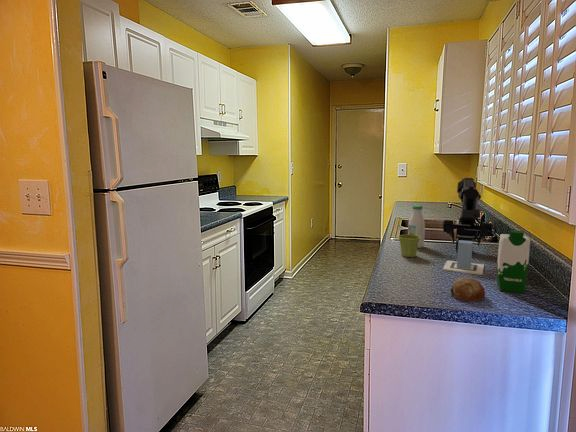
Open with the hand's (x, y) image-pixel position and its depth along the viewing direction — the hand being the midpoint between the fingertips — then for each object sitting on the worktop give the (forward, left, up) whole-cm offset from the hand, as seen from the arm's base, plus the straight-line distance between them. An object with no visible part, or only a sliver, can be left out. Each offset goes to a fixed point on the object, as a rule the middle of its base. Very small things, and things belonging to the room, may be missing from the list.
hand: (465, 244), depth 167 cm
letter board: (0, +6, -8) cm, 10 cm away
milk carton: (-16, +26, -9) cm, 32 cm away
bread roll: (-4, +40, -9) cm, 41 cm away
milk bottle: (+24, -24, -9) cm, 35 cm away
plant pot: (+23, -4, -9) cm, 25 cm away
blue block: (0, +6, -8) cm, 10 cm away
